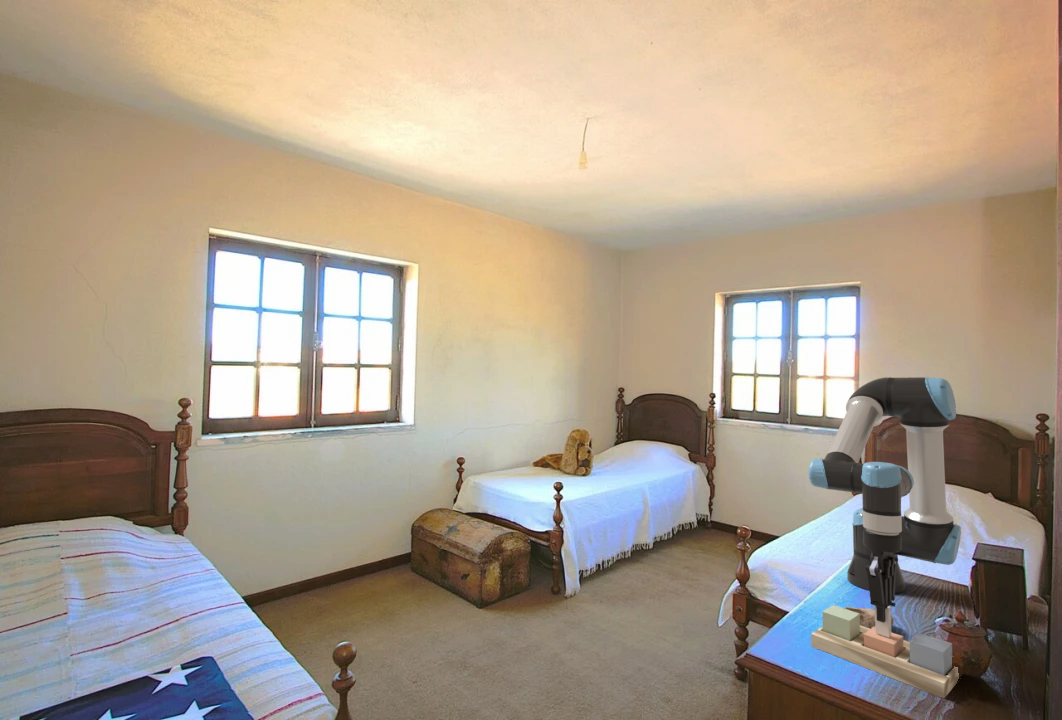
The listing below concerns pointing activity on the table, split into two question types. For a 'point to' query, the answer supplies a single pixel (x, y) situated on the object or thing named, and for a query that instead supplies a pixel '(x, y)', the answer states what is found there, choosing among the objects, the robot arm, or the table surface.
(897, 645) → the terracotta block
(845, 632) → the sage block
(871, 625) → the stone
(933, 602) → the table surface
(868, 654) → the socket board
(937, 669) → the slate block
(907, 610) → the table surface
